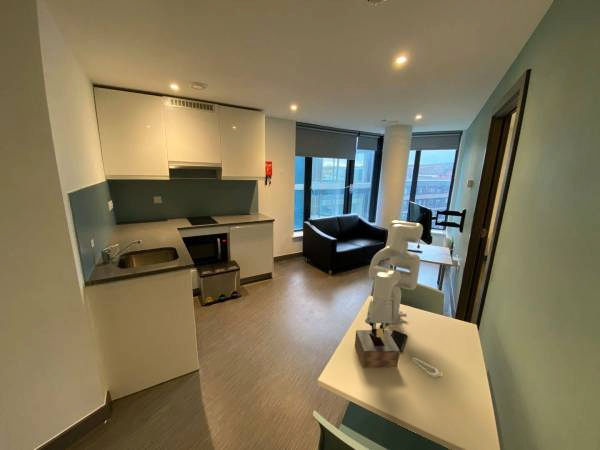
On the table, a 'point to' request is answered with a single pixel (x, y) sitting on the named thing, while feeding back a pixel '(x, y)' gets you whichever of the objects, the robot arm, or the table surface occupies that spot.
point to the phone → (399, 339)
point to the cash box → (376, 349)
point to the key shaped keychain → (429, 367)
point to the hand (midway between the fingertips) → (377, 334)
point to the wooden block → (379, 332)
